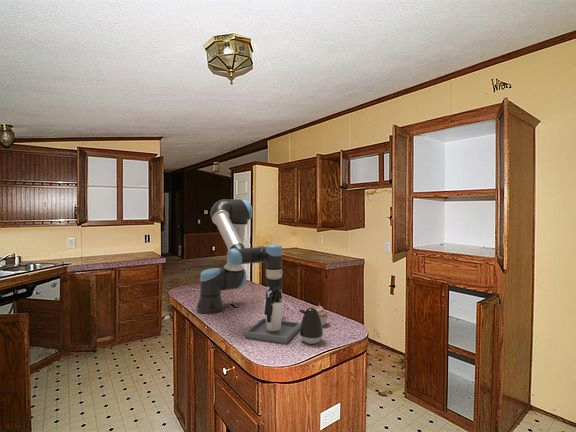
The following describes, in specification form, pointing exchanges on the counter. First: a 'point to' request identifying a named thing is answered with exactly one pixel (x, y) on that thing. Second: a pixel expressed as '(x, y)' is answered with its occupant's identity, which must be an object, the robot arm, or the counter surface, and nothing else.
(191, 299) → the counter surface
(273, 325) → the foam cup
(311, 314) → the pump dispenser
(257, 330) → the tray
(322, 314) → the cupcake
